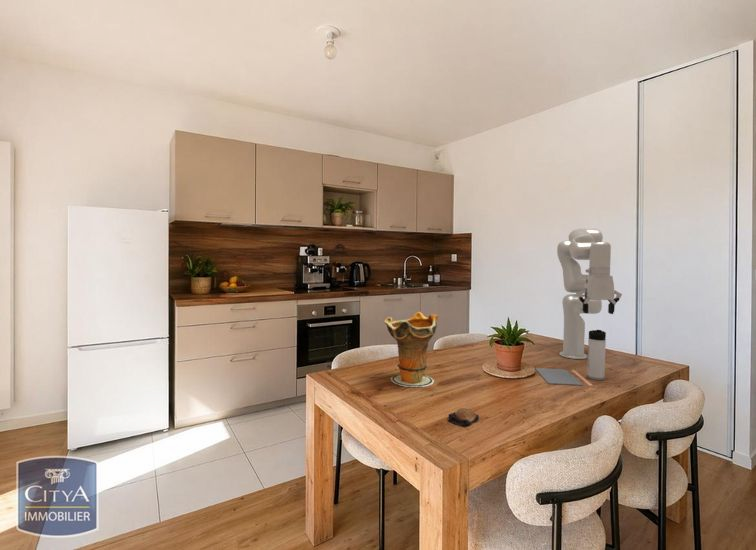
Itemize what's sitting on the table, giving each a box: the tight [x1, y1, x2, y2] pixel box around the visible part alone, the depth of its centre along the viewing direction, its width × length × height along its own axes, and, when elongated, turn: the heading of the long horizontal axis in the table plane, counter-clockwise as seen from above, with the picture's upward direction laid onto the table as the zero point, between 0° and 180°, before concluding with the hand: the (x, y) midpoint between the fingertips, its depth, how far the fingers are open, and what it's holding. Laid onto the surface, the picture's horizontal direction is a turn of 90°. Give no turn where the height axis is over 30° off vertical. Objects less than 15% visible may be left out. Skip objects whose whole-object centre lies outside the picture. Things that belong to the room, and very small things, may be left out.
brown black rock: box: [446, 407, 481, 429], centre depth 121 cm, size 11×8×4 cm
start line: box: [570, 369, 594, 387], centre depth 161 cm, size 20×2×1 cm, turn 172°
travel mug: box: [586, 329, 607, 381], centre depth 160 cm, size 6×7×20 cm
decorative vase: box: [383, 311, 439, 388], centre depth 157 cm, size 21×23×28 cm
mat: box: [534, 367, 584, 387], centre depth 162 cm, size 20×13×1 cm, turn 172°
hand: (598, 313), depth 159 cm, fingers open, 9 cm apart
